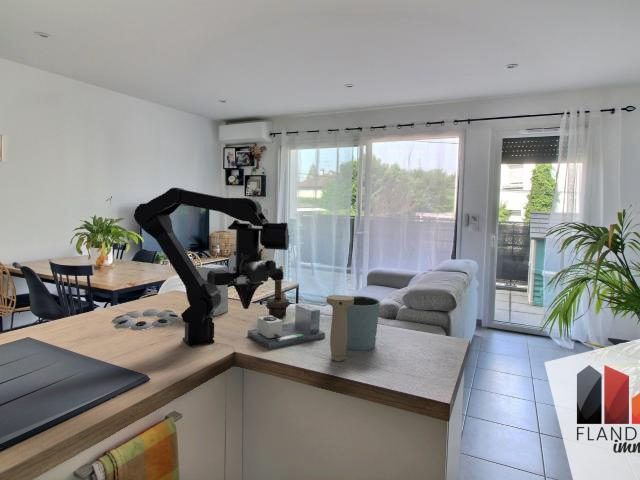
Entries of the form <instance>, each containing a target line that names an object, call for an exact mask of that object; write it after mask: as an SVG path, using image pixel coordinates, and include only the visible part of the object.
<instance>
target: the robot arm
mask: <svg viewBox="0 0 640 480" xmlns="http://www.w3.org/2000/svg"><path fill="white" fill-rule="evenodd" d="M182 205H184V206H190V207H193V208H194V207H195V208H200V209H204V210H208V211H209V210H210V211H215V212H219V213H222V214H225V215H227V216H229V217H231V218H233V219H235V220H233V222H232V223H231V224H230V225H228V227H227V229H228V230H231V231H232V230H233V231H236V232H235V250H233V256H235V264H234V265H235V266H233V269H232V270H233V272H230V271H228V272H227V271H225V270H211V271H209V273H208V274H207V281H206V280H205V279H204V278H202V277H201V275H200V274H199V272H198V270H197V266H195V264H194V263H193V261H192V259H191V258H190V256H189V255H188V253H187V251H186V250H185V249H184V246H183V245H182V243H181V242H180V240H179V239H178V237H177V236H176V234H175V232H174V229H173V222H172V219H171V215H172V214H173V213H175V212H176V211H177V210H178V208H180V206H182ZM262 211H263V209H262V205H261V203H260V202H259V201H258V200H257V199H255V198H249V197H224V196H217V195H213V194H208V193H202V192H198V191H191V190H188V189H184V188H182V187H181V188H180V187H171V188H169V189H168V190H166V191H165V192H163V193H162V194H160V195H158V196H156V197H154V198H152V199H151V200H149V201H148V202H145V203H140V204H139V205H137V206H136V208H135V209H134V214H133V218H134V220H135V222H136V223H137V225H138V226H139V227H140V228H141V229H142V231H144V232H145V233H147V234H148V235H149V236H150V237H152V238H153V239H154V240H155V241H156V243H157V244H158V246H159V247H160V249H161V251H162V252H163V253H164V255H165V256H166V259H167V260H168V261H169V263H170V265H171V266H172V268H173V269H174V271H175V273H176V274H177V276H178V277H179V278H180V280H181V282H182V283H183V286H184V287H185V291H186V292H185V293H186V294H185V295H186V299H187V302H188V304H189V306H188V307H187V308H186V309H185V310H184V311H183V312H182V313H181V314H180V318H181V319H182V321H183V323H184V337H182V341H183V342H184V343H185V344H186V345H187V346H188V347H197V346H201V345H203V346H204V345H208V344H214V343H215V323H214V322H213V317H212V316H213V315H212V314H213V313H214V310H215V309H216V308H217V307H219V305H220V303H221V295H220V294H219V293H220V292H221V291H220V290H219V289H218V288H217V287H216V285H217V286H219V285H229V284H230V285H232V286H233V288H234V289H235V291H236V293H237V295H238V298H239V300H240V302H241V305H242V308H243V309H244V310H248V309H249V307H250V305H251V302H252V300H253V297H254V295H255V293H256V291H257V289H258V288H259V287H260V286H263V285H264V282H265V283H266V282H268V281H269V278H270V279H271V280H272V281H274V282H275V281H276V280H282V281H283V280H284V274H285V273H284V271H283V270H282V268H280V267H277V263H276V261H275V260H273V259H271V260H266V261H263V260H262V253H261V252H260V249H259V248H260V245H261V246H263V248H264V249H265V250H281V251H283V250H284V251H288V249H289V247H290V246H289V245H290V244H289V243H290V234H289V228H288V227H289V225H288V224H289V223H288V222H276V223H275V222H269V220H268V218H267V217H266V215H264V214H263V213H264V212H262ZM240 221H242V222H243V223H242V222H240ZM245 222H247V223H245Z"/></svg>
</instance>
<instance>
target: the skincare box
mask: <svg viewBox="0 0 640 480" xmlns="http://www.w3.org/2000/svg"><path fill="white" fill-rule="evenodd" d="M196 269H197V270H198V272H199V274H200V275H201V277H202V278H204V279H205V280H206V281H207V274H208V273H209V271H211V270H225V271H227V272H229V271H228V270H229V269H228V265H220V264H213V263H212V264H211V263H208V264H202V265H198V266H196ZM228 285H229V284H228ZM228 285H219V286H217V285H216V287H217V288H218V289H219V290H220V291H221V292H220V293H219V294H220V295H221V303H220V305H219V307H217V308H216V309H215V310H214V313H213V314H212V315H211V316H215V317H216V316H218V315H223V314H226V313H228V312H229V286H228Z"/></svg>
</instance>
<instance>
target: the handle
mask: <svg viewBox="0 0 640 480" xmlns="http://www.w3.org/2000/svg"><path fill="white" fill-rule="evenodd" d="M326 303H327V304H328V305H330V306H331V307H332V316H331V324H330V333H329V334H330V336H329V337H330V338H329V346H330V358H331V360H332V361H335V362H337V363H338V362H342V361H344V360H345V357H346V356H345V355H346V354H345V353H346V351H347V347H346V345H347V308H348V307H349V306H351V305H353V304H354V297H352V296H351V295H340V294H332V295H327V296H326Z"/></svg>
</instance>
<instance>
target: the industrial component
mask: <svg viewBox="0 0 640 480" xmlns="http://www.w3.org/2000/svg"><path fill="white" fill-rule="evenodd" d="M282 281H283V280H276V281H274V297H273V298H272V297H271V298H268V299H266V302H267V303H266V304H265V307H266V309H268V316H270V315H271V316H273V317H276V318H277V319H279V318H280V319H281V318H284V317H286V316H287V308H289V306H291V305H290V300H289V299H288V298H284V297H282V284H283V283H282Z"/></svg>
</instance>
